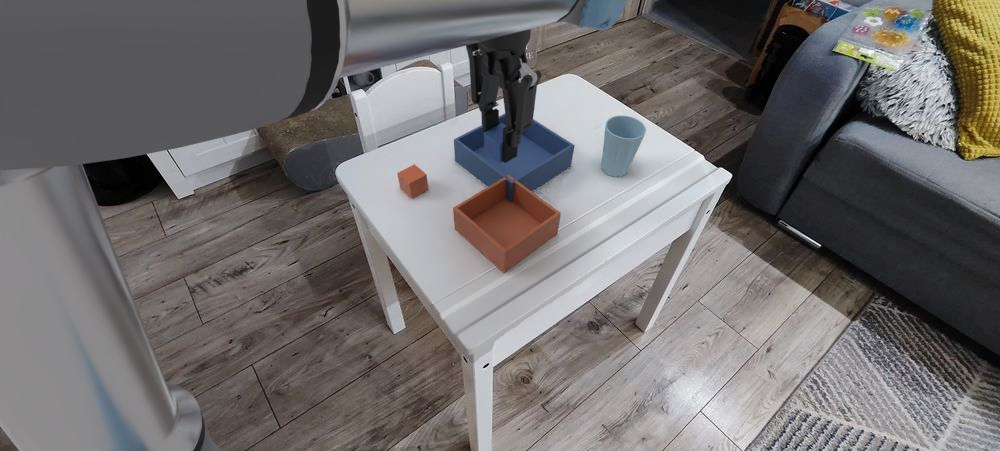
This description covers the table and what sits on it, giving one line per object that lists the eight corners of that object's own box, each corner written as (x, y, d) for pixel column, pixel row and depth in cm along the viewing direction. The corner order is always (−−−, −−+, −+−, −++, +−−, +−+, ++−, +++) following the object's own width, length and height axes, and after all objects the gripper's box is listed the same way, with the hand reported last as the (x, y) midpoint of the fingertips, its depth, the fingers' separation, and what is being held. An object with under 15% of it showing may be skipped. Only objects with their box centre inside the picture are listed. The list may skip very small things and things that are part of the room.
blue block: (499, 163, 75) (500, 144, 72) (484, 151, 77) (483, 132, 74) (517, 153, 77) (518, 134, 74) (501, 142, 79) (502, 122, 76)
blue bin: (511, 204, 87) (512, 183, 83) (454, 160, 96) (453, 139, 91) (571, 166, 95) (574, 145, 91) (514, 128, 103) (515, 107, 99)
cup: (641, 171, 94) (654, 130, 87) (614, 185, 91) (625, 143, 84) (615, 152, 99) (626, 111, 91) (588, 165, 96) (597, 123, 88)
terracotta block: (411, 199, 88) (409, 183, 85) (400, 188, 89) (397, 172, 87) (428, 189, 89) (426, 174, 86) (416, 179, 91) (414, 163, 88)
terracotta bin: (503, 273, 76) (504, 252, 72) (454, 228, 83) (452, 207, 79) (557, 234, 82) (561, 213, 78) (507, 195, 89) (508, 174, 85)
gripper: (571, 24, 56) (552, 167, 74) (482, -18, 65) (484, 120, 82) (528, 43, 53) (518, 188, 71) (440, -4, 61) (451, 136, 79)
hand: (500, 151), depth 76 cm, fingers closed on blue block, 4 cm apart
